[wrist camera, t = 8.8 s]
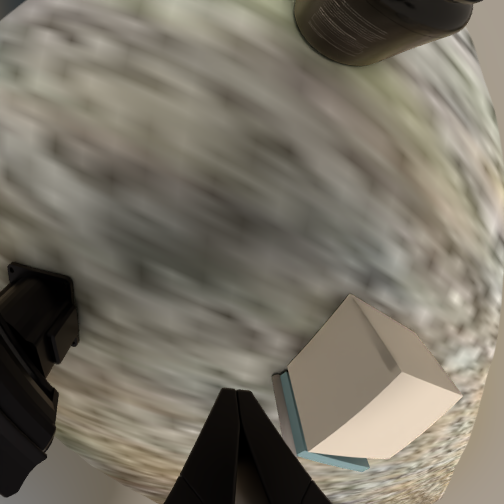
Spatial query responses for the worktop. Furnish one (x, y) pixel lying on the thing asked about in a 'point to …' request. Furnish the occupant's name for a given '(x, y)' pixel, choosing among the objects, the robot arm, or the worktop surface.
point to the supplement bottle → (377, 26)
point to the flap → (294, 431)
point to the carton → (367, 385)
